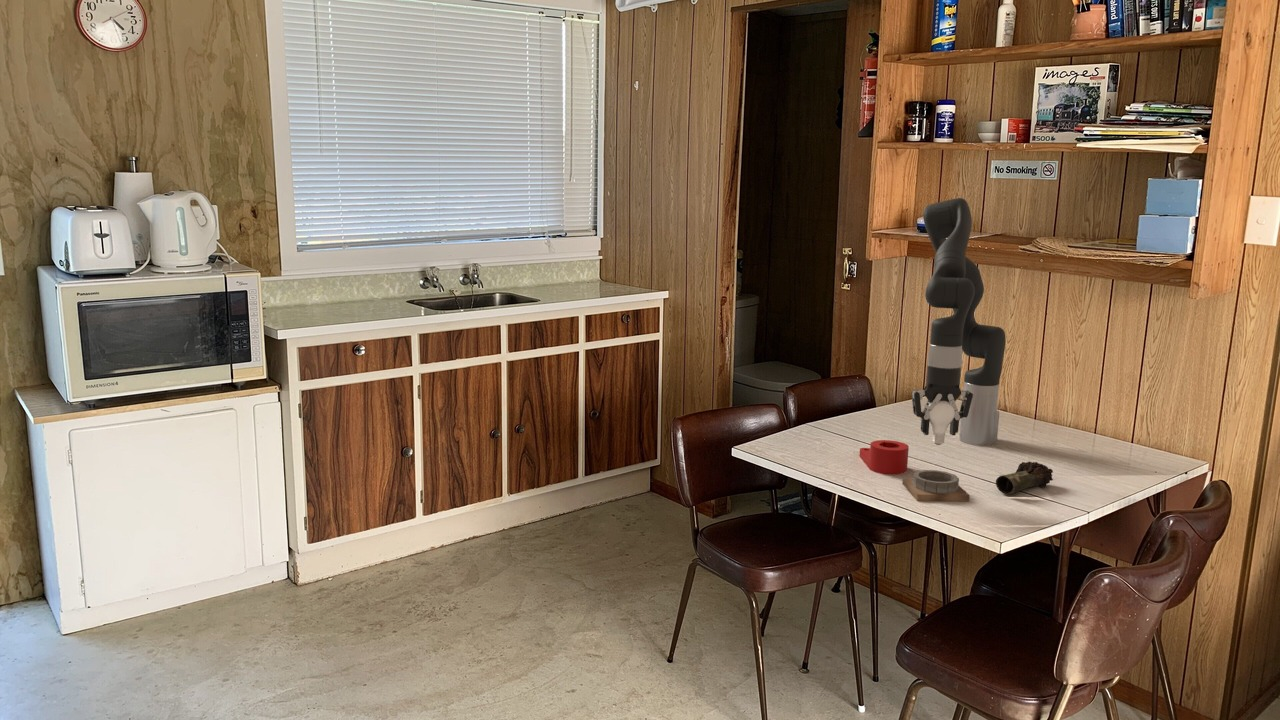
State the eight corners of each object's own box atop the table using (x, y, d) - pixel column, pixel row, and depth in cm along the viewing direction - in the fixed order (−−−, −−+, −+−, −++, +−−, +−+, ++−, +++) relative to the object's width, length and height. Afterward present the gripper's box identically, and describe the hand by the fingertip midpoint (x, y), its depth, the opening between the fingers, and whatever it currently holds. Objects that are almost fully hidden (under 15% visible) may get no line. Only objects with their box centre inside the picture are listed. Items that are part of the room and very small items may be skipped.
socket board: (951, 484, 235) (952, 469, 234) (968, 501, 223) (970, 484, 222) (902, 484, 234) (903, 468, 234) (917, 500, 223) (918, 484, 222)
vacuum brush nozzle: (1012, 497, 224) (1015, 474, 223) (987, 488, 230) (990, 466, 229) (1055, 486, 234) (1059, 464, 233) (1030, 479, 240) (1034, 457, 239)
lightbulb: (955, 448, 223) (959, 402, 221) (928, 448, 223) (931, 401, 221) (947, 441, 229) (951, 396, 227) (920, 440, 230) (924, 395, 228)
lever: (914, 474, 243) (915, 449, 242) (880, 476, 241) (882, 451, 239) (878, 454, 260) (880, 430, 259) (846, 456, 258) (848, 432, 256)
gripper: (969, 361, 227) (963, 430, 230) (908, 360, 226) (903, 430, 230) (981, 367, 219) (975, 439, 222) (918, 366, 219) (913, 438, 222)
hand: (938, 434), depth 226 cm, fingers closed on lightbulb, 5 cm apart
